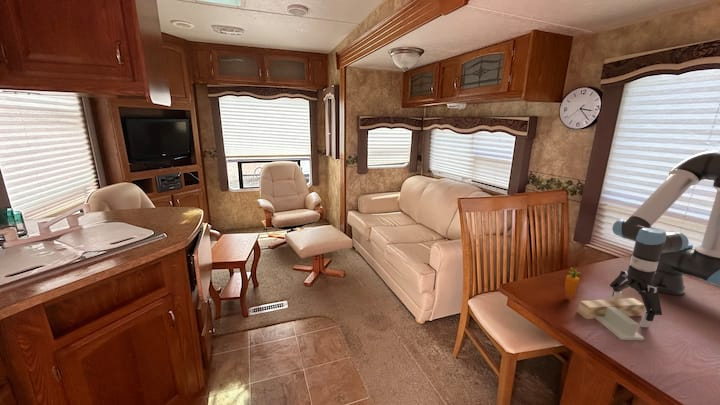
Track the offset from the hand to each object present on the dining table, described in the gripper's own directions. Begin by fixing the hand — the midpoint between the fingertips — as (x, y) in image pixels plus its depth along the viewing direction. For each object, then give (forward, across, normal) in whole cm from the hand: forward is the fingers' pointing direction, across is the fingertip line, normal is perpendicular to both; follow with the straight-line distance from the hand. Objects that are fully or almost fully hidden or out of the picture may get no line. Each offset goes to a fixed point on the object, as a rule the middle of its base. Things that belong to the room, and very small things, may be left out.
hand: (628, 315), depth 118 cm
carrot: (0, -11, -17) cm, 20 cm away
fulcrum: (0, +8, -11) cm, 14 cm away
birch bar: (0, -1, -7) cm, 7 cm away
